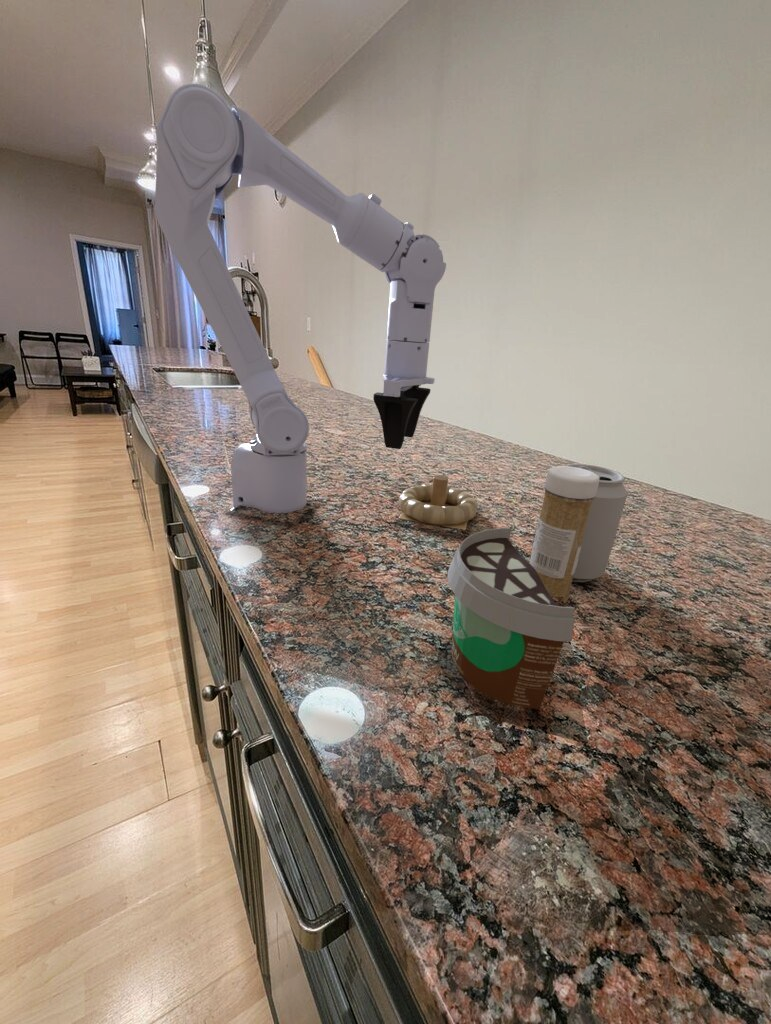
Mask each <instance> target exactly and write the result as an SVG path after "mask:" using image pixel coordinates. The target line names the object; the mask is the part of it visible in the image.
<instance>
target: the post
mask: <svg viewBox="0 0 771 1024" xmlns="http://www.w3.org/2000/svg"><path fill="white" fill-rule="evenodd" d="M432 485H433V487H432V496H431V501H421V502H423V503H425V504H429V505H435V506H441V507H443V506H454V505H452V504H449V503H445V501H446V493H447V486H448V485H449V478H448V477H447V476H446V475H445V476H444V475H435V476H433V480H432ZM398 519H399V520H406V521H411V522H417V523H422V524H429V525H434V526H440V527H446V528H452V529H458V530H463V531H466V530H467V527H468V522H469V520H468V521H466V522H463V523H461V524H452V525H438V524H432V523H426V522H421V521H419V520H417V519H414V518H412V517H410V516H408V515H406V514H405V513H404V512H403V511H402V512H401V513H400V514H399V516H398Z"/></svg>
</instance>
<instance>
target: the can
mask: <svg viewBox="0 0 771 1024" xmlns="http://www.w3.org/2000/svg"><path fill="white" fill-rule="evenodd" d="M564 466H569V467H576V468H581V469H585V470H588V471H591V472H593V473H595V474H597V475H598V476H599V485H598V489H597V493H596V496H595V497H594V499H593V501H592V502H591V506H590V511H589V516H588V520H587V524H586V527H585V531H584V535H583V539H582V543H581V550H580V554H579V559H578V562H577V566H576V570H575V573H574V575H573V578H572V582H573V583H587V582H591V581H593V580H595V579H599V578H601V577H602V576H603V575H604V574H605V572H606V569H607V567H608V562H609V559H610V555H611V553H612V550H613V545H614V543H615V538H616V536H617V532H618V529H619V525H620V522H621V519H622V515H623V512H624V508H625V504H626V502H627V499H628V495H629V492H628V490H627V489H626V487H625V485H624V484H623V483H624V482H625V481H626V477H625V476H624V475H623V474H622V473H620V472H618V471H615V470H613V469H610V468H607V467H603V466H598V465H594V464H584V463H570V464H565V465H564Z"/></svg>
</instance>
